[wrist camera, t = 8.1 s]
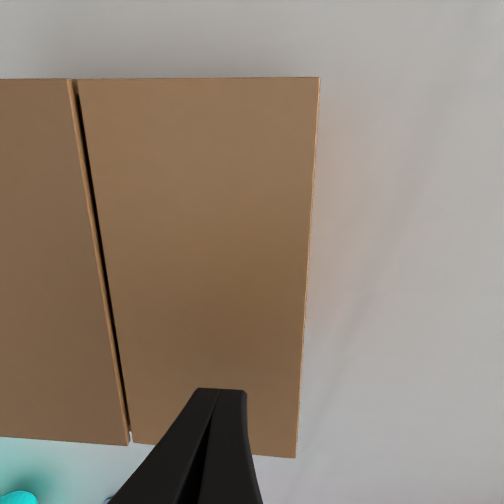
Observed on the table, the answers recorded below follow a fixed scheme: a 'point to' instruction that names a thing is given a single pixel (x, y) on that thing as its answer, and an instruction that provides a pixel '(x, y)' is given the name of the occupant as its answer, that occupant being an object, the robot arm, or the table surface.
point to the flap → (206, 241)
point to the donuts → (18, 498)
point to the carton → (55, 276)
